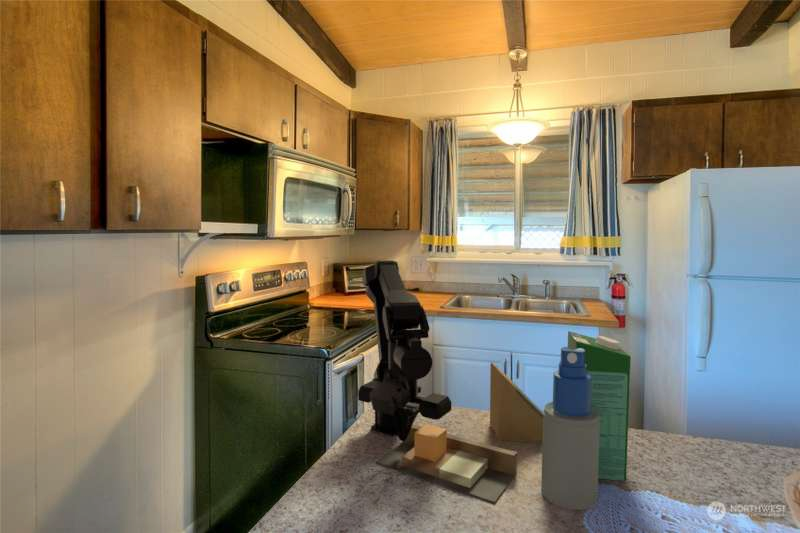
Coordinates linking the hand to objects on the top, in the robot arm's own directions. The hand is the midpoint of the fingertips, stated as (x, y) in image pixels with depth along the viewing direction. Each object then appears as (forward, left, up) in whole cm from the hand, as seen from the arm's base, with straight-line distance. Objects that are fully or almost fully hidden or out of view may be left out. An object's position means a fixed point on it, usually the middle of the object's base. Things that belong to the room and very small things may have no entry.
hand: (403, 440), depth 88 cm
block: (+6, 0, -1) cm, 6 cm away
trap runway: (+9, 0, -3) cm, 10 cm away
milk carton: (+33, +16, -3) cm, 37 cm away
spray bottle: (+31, +4, -3) cm, 31 cm away
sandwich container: (+18, +24, -3) cm, 30 cm away
